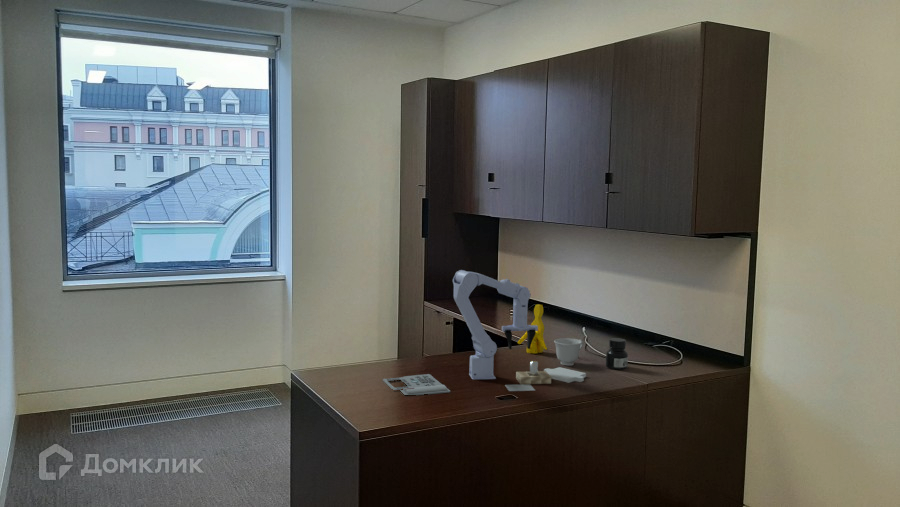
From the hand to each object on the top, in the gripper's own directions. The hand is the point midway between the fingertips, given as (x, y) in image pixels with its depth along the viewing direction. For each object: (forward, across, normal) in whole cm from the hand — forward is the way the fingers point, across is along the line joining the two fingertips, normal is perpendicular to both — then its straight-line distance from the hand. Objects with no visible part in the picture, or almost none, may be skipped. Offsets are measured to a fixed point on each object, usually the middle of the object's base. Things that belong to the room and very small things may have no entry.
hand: (519, 348), depth 287 cm
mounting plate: (+11, +17, -6) cm, 21 cm away
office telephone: (+11, -44, -14) cm, 47 cm away
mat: (+10, -5, -20) cm, 23 cm away
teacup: (+11, +26, +14) cm, 31 cm away
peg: (+10, +3, -12) cm, 16 cm away
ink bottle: (+11, +44, +6) cm, 46 cm away
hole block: (+10, +3, -12) cm, 16 cm away
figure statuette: (+11, +16, +35) cm, 40 cm away
